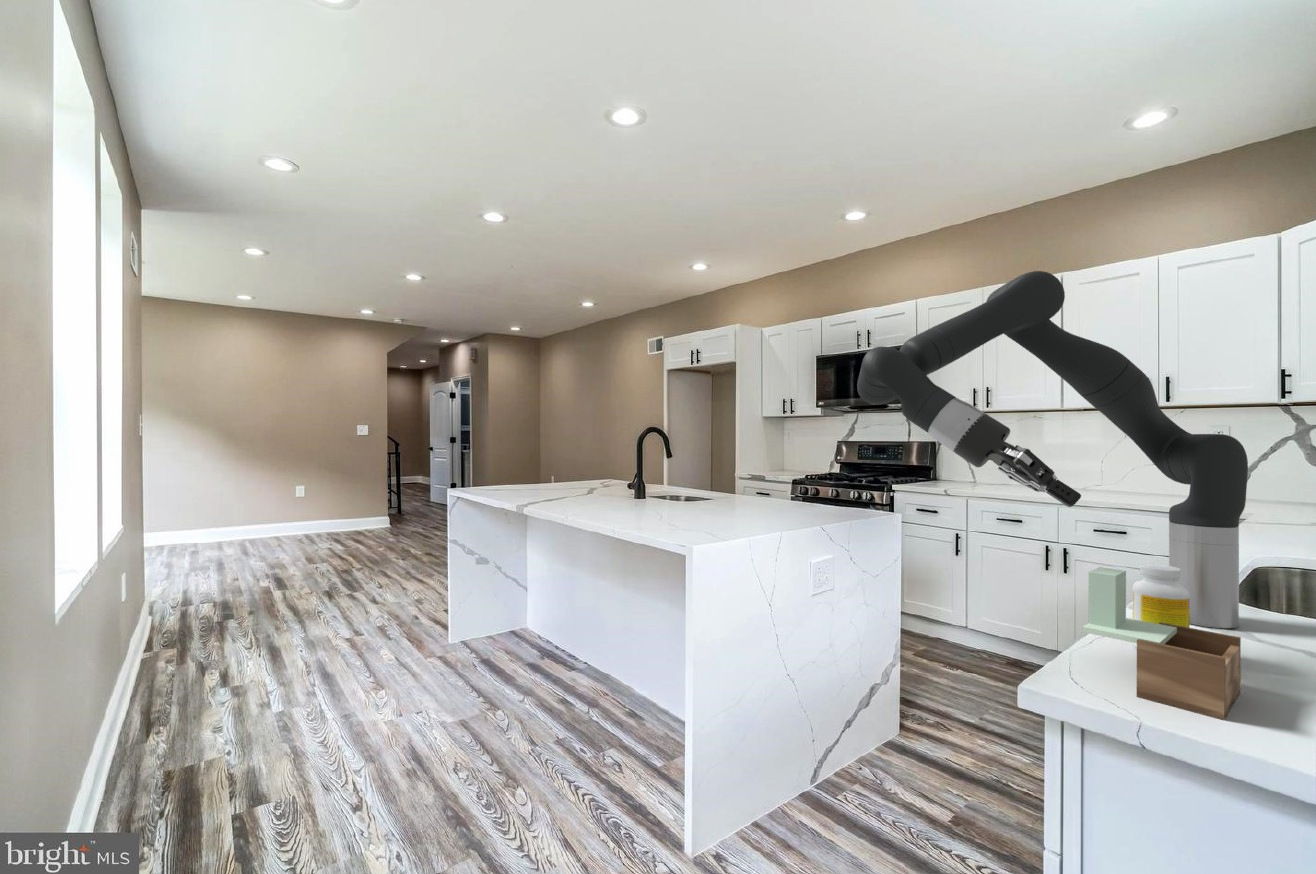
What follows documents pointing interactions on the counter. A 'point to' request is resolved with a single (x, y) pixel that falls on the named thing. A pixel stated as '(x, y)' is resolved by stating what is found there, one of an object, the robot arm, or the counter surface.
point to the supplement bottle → (1160, 596)
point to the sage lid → (1118, 611)
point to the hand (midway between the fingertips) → (1076, 501)
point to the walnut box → (1191, 671)
